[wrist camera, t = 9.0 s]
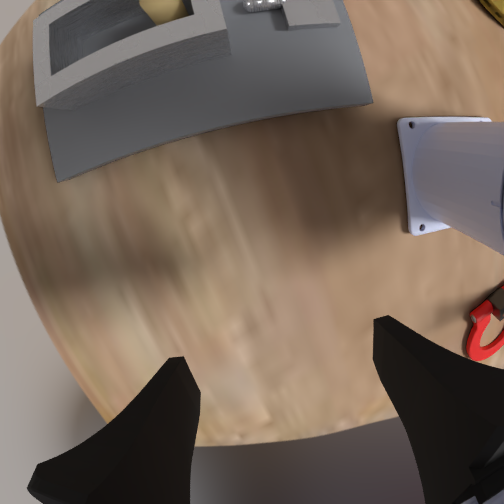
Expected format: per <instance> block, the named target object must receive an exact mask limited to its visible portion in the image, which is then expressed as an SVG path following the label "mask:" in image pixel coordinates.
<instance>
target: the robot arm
mask: <svg viewBox="0 0 504 504" xmlns="http://www.w3.org/2000/svg"><path fill="white" fill-rule="evenodd" d="M409 122H411V123H412V128H410V127H409ZM397 128H398V134H399V140H400V146H401V153H402V160H403V168H404V177H405V187H406V198H407V211H408V229H409V232H410V233H411V234H412V235H414V236H417V235H421V234H426V233H430V232H434V231H438V230H443V229H447V228H451V227H452V228H454V229H456V230H458V231H460V232H462V233H464V234H466V235H468V236H470V237H471V238H473V239H475V240H477V241H479V242H481V243H483V244H484V245H486V246H488V247H490V248H492V249H493V250H495V251H497V252H499V253H500V254H502V255H504V122H492V121H491V120H490V119H489V118H483V117H412V118H401V119H399V120H398V122H397ZM421 224H422V225H423V226H422V228H421V229H419V228H420V225H421ZM373 361H374V364H375V367H376V370H377V372H378V375H379V378H380V380H381V382H382V384H383V386H384V388H385V390H386V392H387V394H388V396H389V398H390V399H391V401H392V403H393V405H394V407H395V409H396V411H397V413H398V415H399V417H400V419H401V421H402V423H403V425H404V427H405V429H406V432H407V434H408V438H409V441H410V443H411V446H412V449H413V453H414V456H415V460H416V463H417V466H418V470H419V474H420V478H421V482H422V487H423V492H424V497H425V503H426V504H504V369H499V368H495V367H492V366H488V365H485V364H481V363H478V362H475V361H473V360H470V359H468V358H465V357H462V356H460V355H458V354H455V353H453V352H451V351H449V350H447V349H445V348H443V347H441V346H439V345H437V344H435V343H434V342H432V341H430V340H428V339H426V338H425V337H423V336H421V335H420V334H418V333H416V332H415V331H413V330H412V329H410V328H408V327H407V326H405V325H404V324H402V323H400V322H399V321H397V320H396V319H394V318H392V317H391V316H389V315H387V316H383V317H380V318H376V319H374V334H373ZM200 397H201V392H200V390H199V388H198V386H197V384H196V382H195V380H194V377H193V375H192V373H191V371H190V369H189V367H188V365H187V362H186V360H185V358H184V356H182V357H173V358H169V359H168V360H167V361H166V362H165V363H164V364H163V366H162V367H161V368H160V369H159V370H158V372H157V373H156V374H155V375H154V376H153V378H152V379H151V380H150V381H149V382H148V383H147V385H146V386H145V387H144V388H143V389H142V390H141V392H140V393H139V394H138V395H137V396H136V397H135V398H134V399H133V400H132V401H131V402H130V403H129V404H128V405H127V407H126V408H125V409H124V410H123V411H122V412H121V413H120V414H119V415H117V416H116V417H115V418H114V419H113V420H112V421H111V422H109V423H108V424H107V425H106V426H105V427H104V428H102V429H101V430H100V431H98V432H97V433H96V434H94V435H93V436H91V437H90V438H88V439H87V440H86V441H84V442H82V443H81V444H80V445H78V446H76V447H74V448H72V449H71V450H69V451H67V452H65V453H63V454H61V455H59V456H57V457H54V458H52V459H49V460H47V461H45V462H42V463H40V464H38V465H37V466H36V469H35V471H34V473H33V475H32V478H31V480H30V482H29V484H28V487H27V489H28V491H29V493H30V494H31V495H32V496H33V497H35V498H36V499H37V500H39V501H40V502H41V503H43V504H190V473H191V462H192V456H193V450H194V445H195V439H196V434H197V428H198V422H199V416H200Z"/></svg>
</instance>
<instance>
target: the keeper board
mask: <svg viewBox="0 0 504 504" xmlns="http://www.w3.org/2000/svg"><path fill="white" fill-rule="evenodd" d="M62 1H64V0H61V1H59V2H58V3H56V4H55V5H53V6H51V7H50V8H48V9H47V10H45V11H44V12H42V13H41V14H40V15H42V14H43V13H45V12H46V11H48V10H49V9H51V8H52V7H54V6H56V5H57V4H59V3H60V2H62ZM219 1H220V5H221V8H222V12H223V16H224V20H225V24H226V28H227V32H228V37H229V42H230V48H231V53H232V56H227V57H223V58H219V59H214V60H210V61H206V62H203V63H199V64H195V65H192V66H188V67H185V68H181V69H178V70H175V71H171V72H168V73H165V74H162V75H159V76H156V77H153V78H151V79H148V80H145V81H142V82H140V83H137V84H134V85H132V86H129V87H127V88H124V89H122V90H119V91H117V92H115V93H112V94H110V95H108V96H106V97H103V98H101V99H99V100H97V101H95V102H92V103H90V104H88V105H86V106H84V107H82V108H80V109H78V110H76V111H72V110H64V109H56V108H47V107H43V111H44V118H45V124H46V130H47V136H48V142H49V147H50V152H51V157H52V162H53V166H54V170H55V175H56V179H57V183H58V182H62V181H66V180H70V179H72V178H74V177H76V176H79V175H81V174H84V173H86V172H88V171H91V170H93V169H96V168H98V167H101V166H103V165H106V164H109V163H111V162H114V161H117V160H119V159H122V158H125V157H128V156H130V155H133V154H136V153H139V152H142V151H145V150H148V149H151V148H154V147H157V146H160V145H164V144H167V143H170V142H173V141H177V140H180V139H184V138H187V137H191V136H194V135H198V134H202V133H206V132H210V131H214V130H218V129H222V128H226V127H230V126H235V125H239V124H244V123H248V122H253V121H258V120H263V119H268V118H274V117H279V116H285V115H291V114H298V113H304V112H311V111H319V110H327V109H335V108H345V107H355V106H365V105H368V104H371V103H373V99H372V94H371V90H370V86H369V82H368V78H367V74H366V70H365V67H364V63H363V60H362V56H361V53H360V49H359V46H358V43H357V40H356V36H355V33H354V30H353V27H352V24H351V22H350V19H349V16H348V13H347V10H346V8H345V5H344V3H343V0H333V2H334V5H335V8H336V10H337V13H338V16H339V19H340V22H341V24H340V25H339V26H338V27H337V28H318V29H304V30H293V31H287V28H286V24H285V21H284V18H283V15H282V12H281V9H271V10H263V11H256V12H249V11H247V10H245V9H244V7H243V2H244V0H219ZM139 3H140V6H141V7H142V8H143V10H144V11H145V12H146V13H144V14H142V15H139V16H137V17H134V18H132V19H129V20H127V21H124V22H122V23H120V24H117V25H115V26H113V27H111V28H108V29H106V30H104V31H102V32H100V33H98V34H96V35H94V36H92V37H90V38H88V39H86V40H84V41H83V50H84V57H86V56H88V55H90V54H92V53H94V52H96V51H98V50H100V49H102V48H104V47H106V46H109V45H111V44H113V43H115V42H118V41H120V40H122V39H125V38H127V37H129V36H132V35H134V34H137V33H139V32H142V31H145V30H147V29H150V28H153V27H156V26H159V25H162V24H165V23H168V22H171V21H174V20H177V19H181V18H184V17H188V16H191V15H194V11H193V7H192V3H191V0H184V1H182V0H139ZM40 15H39V16H40Z"/></svg>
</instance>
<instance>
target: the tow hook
mask: <svg viewBox="0 0 504 504" xmlns="http://www.w3.org/2000/svg"><path fill="white" fill-rule="evenodd" d="M491 313H492V314H493V315H494V316H495V317H496V318H497V319H498V320H499V321H501V320H502V319H504V285H503V286H502V287H501V288H498V289H497V290H496V291H495V292H494V293H493V294H491V295H490V296H489V297H488V298H487V299H486V301H485V302H483V303H482V304H481V305H480V306H478V307H477V308H476V309H475V310H473V311H472V312H471V313H470V318H471V320H472V322H473V323H474V326H473V328H472V329H471V332H470V334H469V337H468V340H467V345H466V350H467V354H468V355H469V357H470V358H471V359H472V360H474V361H481V360H484V359H486V358H488V357H490V356H491V355H493V354H494V353H495V352H496V351H497V350H499V349H500V348H501V347H502V346H503V344H504V330H503V331H502V333H501V334H500V335H499V336H498V337H497V339H496V340H494V341H493V342H492V343H491V344H489V345H487V346H485V347H480V339H481V336H482V334H483V332H484V330H485V328H486V326H487V325H488V324H489V322H490V314H491Z"/></svg>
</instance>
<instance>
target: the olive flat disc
mask: <svg viewBox="0 0 504 504" xmlns="http://www.w3.org/2000/svg"><path fill="white" fill-rule="evenodd" d="M479 1H480V2H481V3H482V4H483V6H484V7H485V8H486V9H487V10H488V11H489V12H490V13H491V14H492V15H493V16H494V17H495V18H496V19H497V20H498V21H499V22H500V23H501V24H502V25H503V27H504V0H479Z"/></svg>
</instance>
